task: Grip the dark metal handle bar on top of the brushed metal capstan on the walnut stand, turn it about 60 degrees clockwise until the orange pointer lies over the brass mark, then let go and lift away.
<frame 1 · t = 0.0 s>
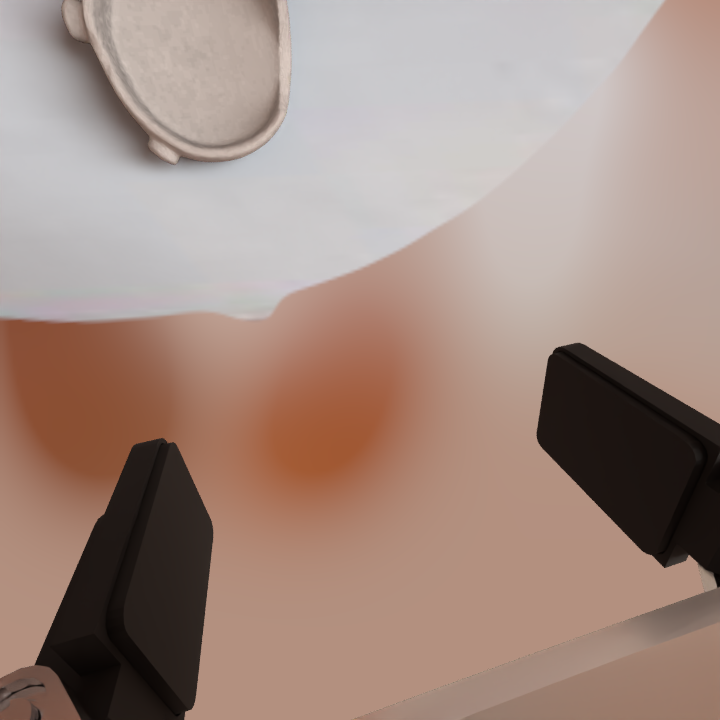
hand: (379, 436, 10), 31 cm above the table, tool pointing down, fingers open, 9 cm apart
dish: (201, 59, 30), on the table
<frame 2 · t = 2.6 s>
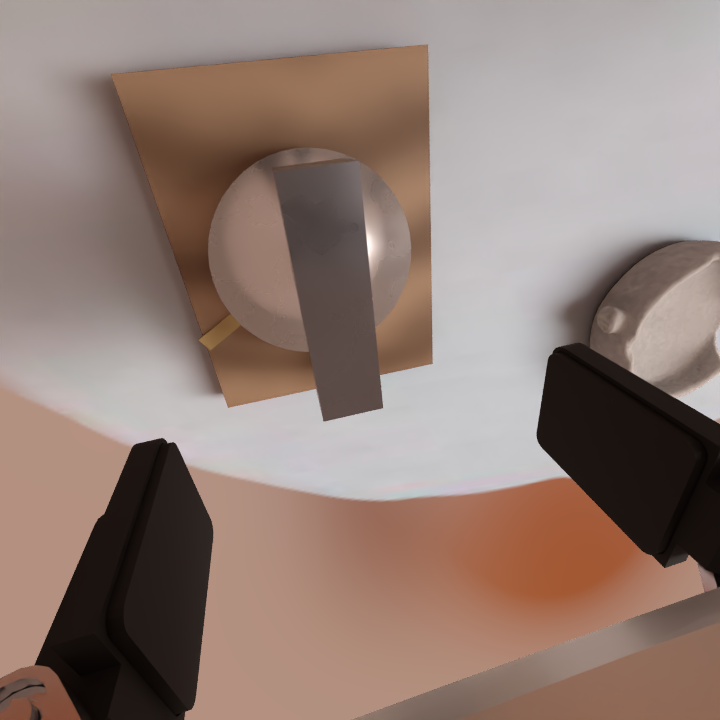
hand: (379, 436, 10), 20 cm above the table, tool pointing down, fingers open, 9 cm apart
dial stand: (308, 248, 26), on the table
dish: (643, 312, 36), on the table
capstan: (326, 298, 21), point 7 cm above the table, hinge at 0.0°
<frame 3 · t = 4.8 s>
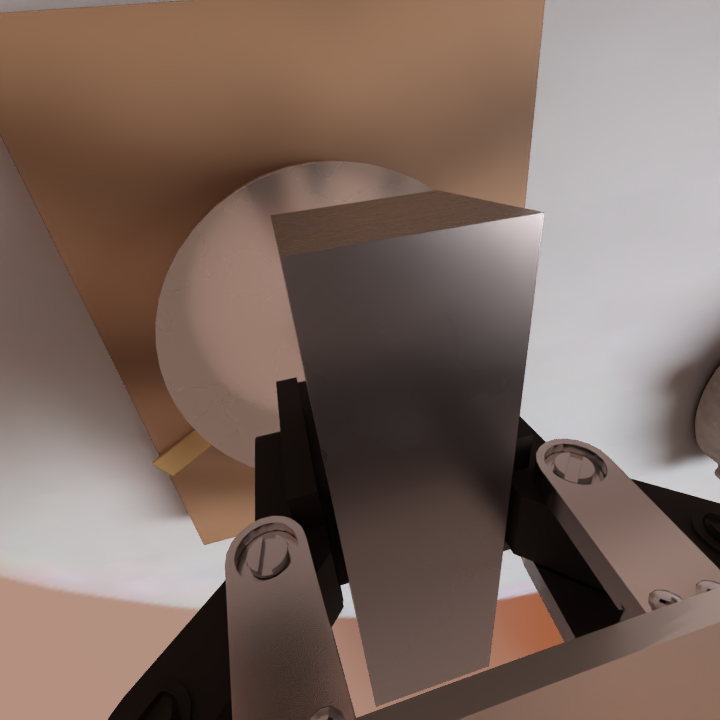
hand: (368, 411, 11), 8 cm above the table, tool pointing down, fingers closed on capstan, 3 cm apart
dial stand: (325, 312, 17), on the table
capstan: (368, 431, 11), point 7 cm above the table, hinge at 0.0°, touching gripper
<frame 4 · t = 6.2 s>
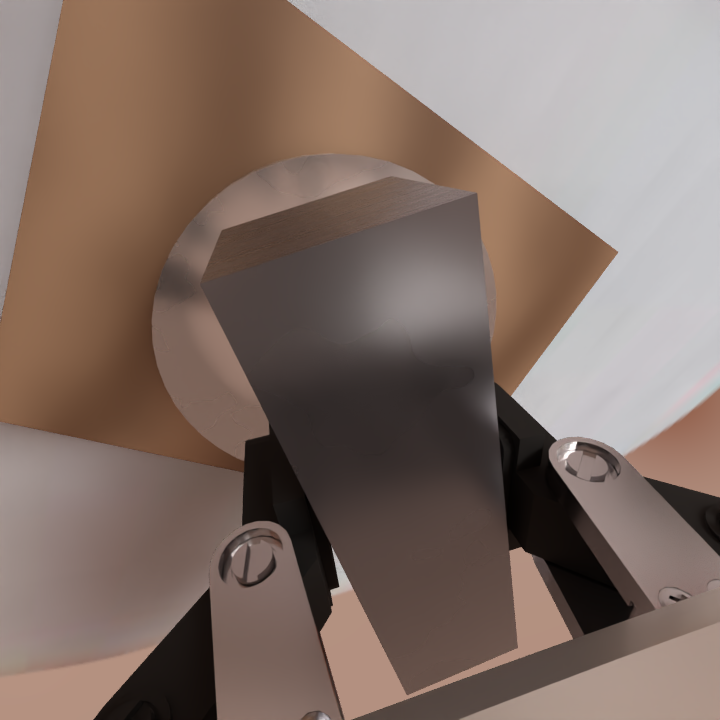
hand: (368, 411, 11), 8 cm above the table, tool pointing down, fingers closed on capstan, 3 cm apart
dial stand: (324, 308, 17), on the table
capstan: (372, 425, 11), point 7 cm above the table, hinge at -46.4°, touching gripper
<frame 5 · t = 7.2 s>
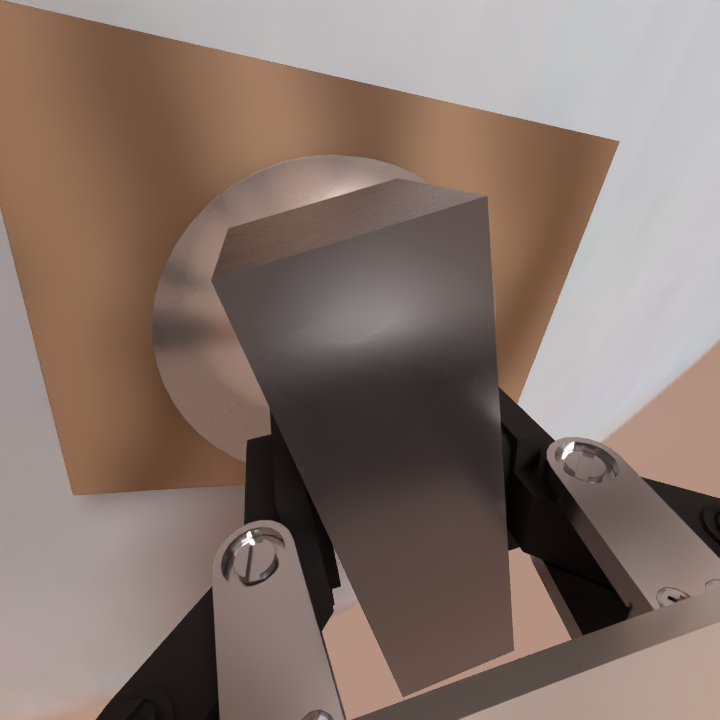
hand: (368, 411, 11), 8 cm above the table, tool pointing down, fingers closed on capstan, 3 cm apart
dial stand: (324, 309, 17), on the table
capstan: (371, 426, 11), point 7 cm above the table, hinge at -67.6°, touching gripper
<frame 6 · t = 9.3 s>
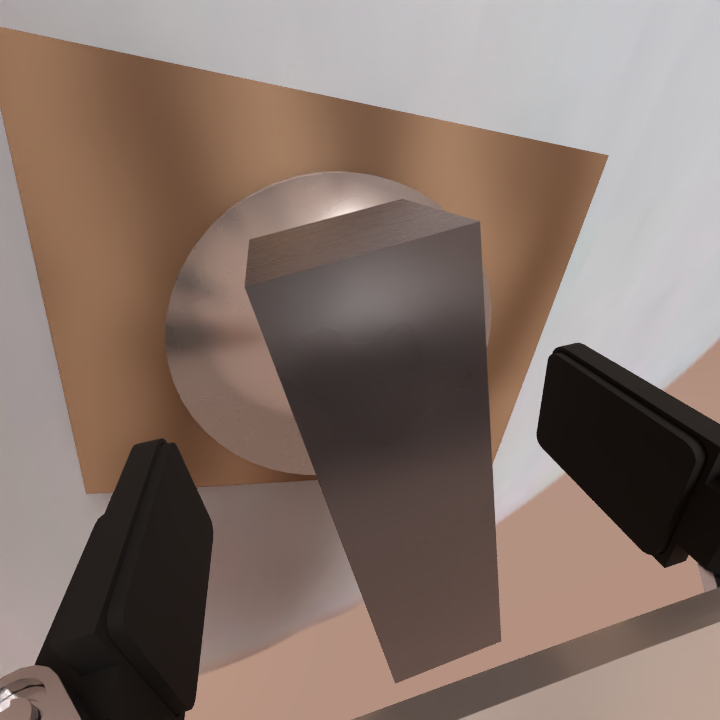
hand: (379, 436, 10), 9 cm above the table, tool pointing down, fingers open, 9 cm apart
dial stand: (327, 315, 18), on the table
capstan: (371, 427, 12), point 7 cm above the table, hinge at -69.3°
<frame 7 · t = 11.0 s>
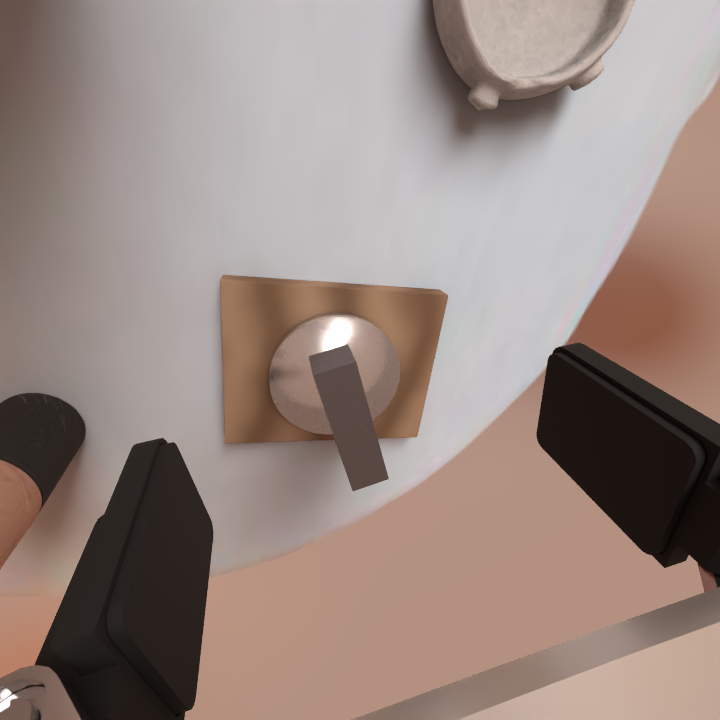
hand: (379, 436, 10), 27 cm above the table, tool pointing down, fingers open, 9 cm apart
dial stand: (330, 362, 38), on the table
dish: (509, 3, 29), on the table
capstan: (346, 408, 33), point 7 cm above the table, hinge at -69.3°
travel mug: (42, 425, 35), on the table
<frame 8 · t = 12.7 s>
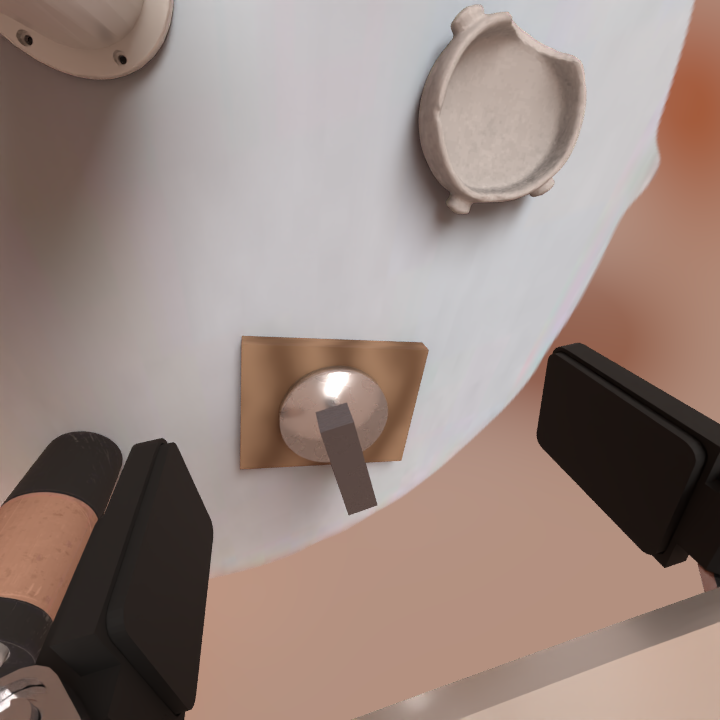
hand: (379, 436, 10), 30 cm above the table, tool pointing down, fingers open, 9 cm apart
dial stand: (329, 401, 46), on the table
dish: (481, 125, 36), on the table
capstan: (343, 446, 40), point 7 cm above the table, hinge at -69.3°
travel mug: (86, 456, 42), on the table
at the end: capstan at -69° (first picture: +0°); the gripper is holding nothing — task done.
